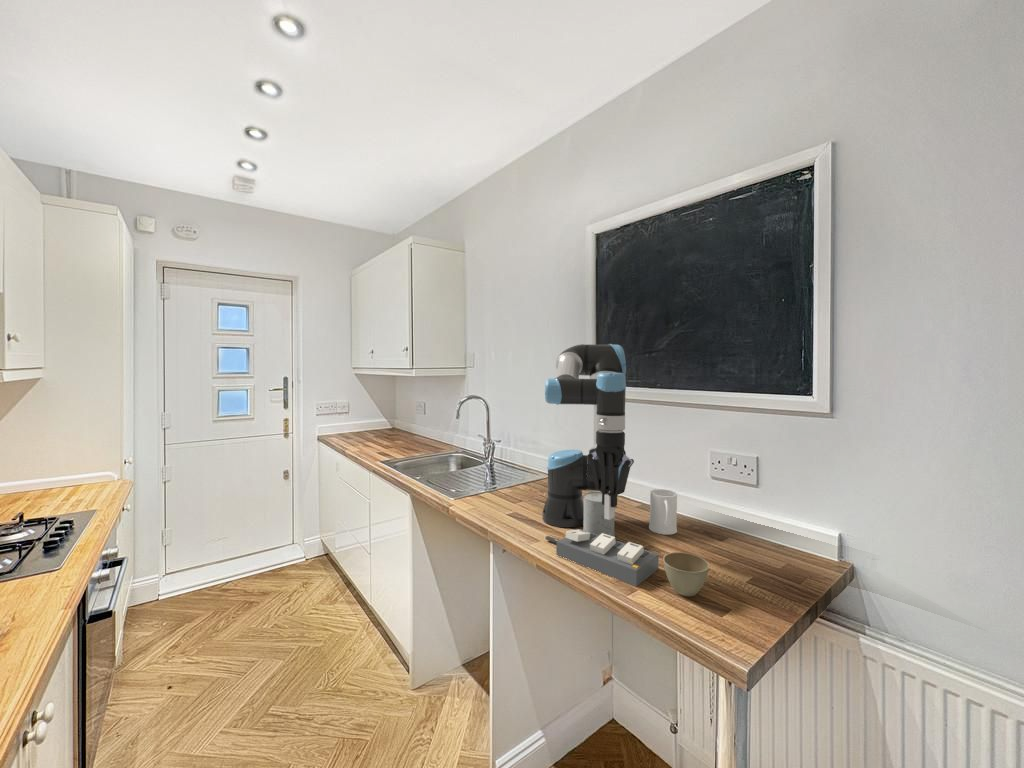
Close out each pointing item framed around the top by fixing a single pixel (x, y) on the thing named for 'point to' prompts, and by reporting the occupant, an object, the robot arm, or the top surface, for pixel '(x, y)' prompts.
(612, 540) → the block
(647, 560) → the power strip
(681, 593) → the flower pot
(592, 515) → the grey concrete cylinder
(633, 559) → the rocker
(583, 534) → the rocker
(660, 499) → the mug
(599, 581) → the top surface
